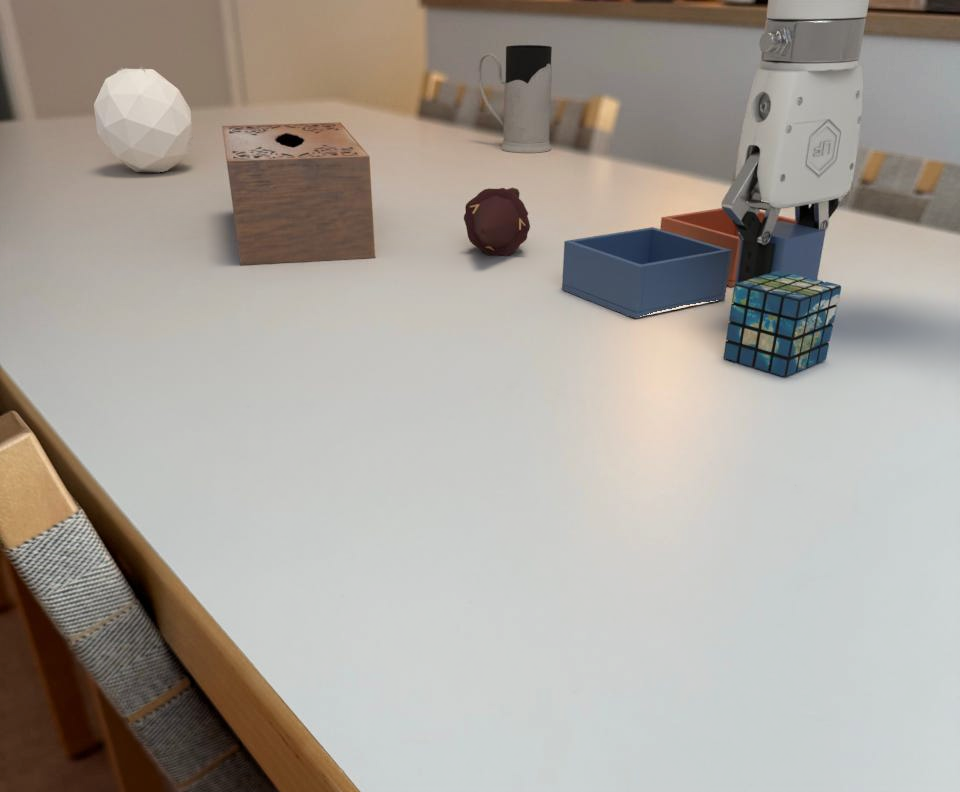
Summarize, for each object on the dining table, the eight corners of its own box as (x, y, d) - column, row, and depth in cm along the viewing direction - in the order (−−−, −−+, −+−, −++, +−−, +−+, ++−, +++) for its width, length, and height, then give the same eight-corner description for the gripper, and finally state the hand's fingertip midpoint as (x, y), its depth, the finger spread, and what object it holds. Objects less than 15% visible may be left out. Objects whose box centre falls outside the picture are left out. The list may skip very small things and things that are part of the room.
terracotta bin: (731, 249, 108) (737, 205, 106) (807, 271, 101) (817, 224, 98) (656, 262, 103) (661, 217, 101) (730, 287, 96) (738, 238, 93)
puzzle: (763, 342, 82) (776, 270, 78) (826, 360, 78) (842, 285, 75) (722, 358, 78) (733, 283, 75) (785, 378, 75) (800, 300, 71)
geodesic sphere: (59, 126, 144) (77, 39, 133) (136, 116, 153) (159, 34, 142) (123, 201, 143) (146, 120, 133) (197, 186, 153) (224, 109, 142)
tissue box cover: (233, 213, 122) (221, 125, 116) (346, 208, 125) (340, 122, 119) (240, 265, 102) (226, 161, 96) (375, 257, 105) (369, 156, 99)
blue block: (773, 278, 89) (782, 221, 86) (815, 289, 86) (825, 230, 83) (734, 287, 87) (742, 228, 84) (776, 299, 84) (785, 239, 81)
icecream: (527, 207, 96) (549, 192, 109) (457, 183, 96) (488, 171, 109) (507, 276, 100) (531, 254, 112) (441, 253, 100) (472, 234, 113)
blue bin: (647, 273, 100) (652, 226, 97) (724, 300, 92) (732, 250, 89) (561, 289, 95) (564, 240, 92) (635, 319, 87) (640, 266, 84)
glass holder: (535, 154, 160) (538, 49, 152) (464, 146, 167) (464, 45, 158) (560, 147, 166) (565, 46, 158) (491, 140, 173) (492, 42, 164)
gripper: (770, 55, 69) (737, 309, 80) (921, 42, 77) (872, 276, 87) (698, 50, 75) (676, 290, 85) (845, 38, 82) (808, 260, 92)
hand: (776, 281), depth 86 cm, fingers closed on blue block, 5 cm apart
